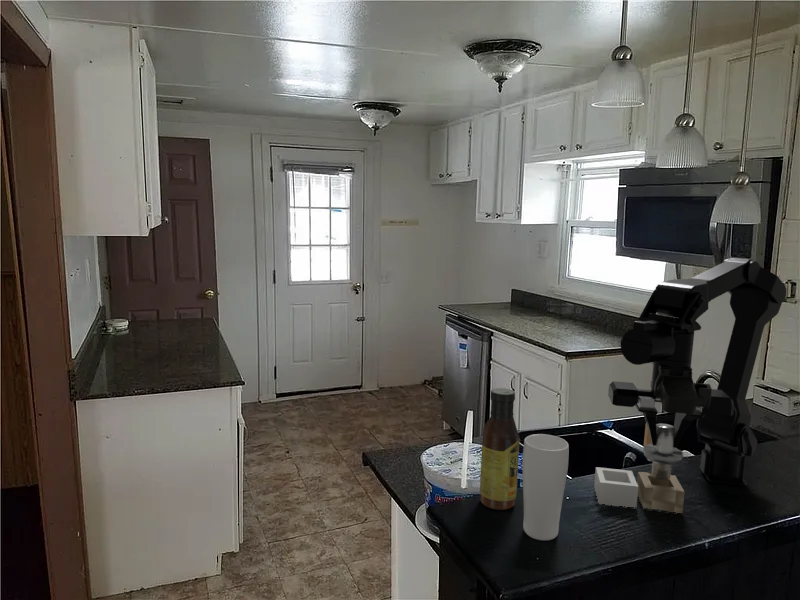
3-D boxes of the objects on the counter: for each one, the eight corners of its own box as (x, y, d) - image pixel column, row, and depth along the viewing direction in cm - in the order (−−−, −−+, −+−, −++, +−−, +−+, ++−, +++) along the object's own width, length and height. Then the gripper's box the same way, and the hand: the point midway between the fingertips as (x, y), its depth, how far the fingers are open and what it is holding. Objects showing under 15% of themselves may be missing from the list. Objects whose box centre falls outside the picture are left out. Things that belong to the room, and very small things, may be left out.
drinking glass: (513, 521, 94) (518, 433, 92) (554, 521, 94) (560, 433, 92) (525, 545, 87) (531, 451, 85) (569, 544, 88) (576, 450, 85)
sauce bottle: (515, 514, 96) (522, 399, 93) (477, 509, 97) (483, 395, 94) (516, 495, 102) (522, 387, 99) (480, 491, 104) (485, 384, 101)
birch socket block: (673, 496, 104) (675, 475, 103) (682, 514, 98) (684, 491, 97) (636, 492, 105) (638, 471, 104) (643, 509, 99) (645, 487, 98)
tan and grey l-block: (656, 452, 109) (659, 424, 108) (662, 462, 105) (665, 433, 104) (643, 450, 110) (645, 423, 109) (648, 460, 105) (650, 432, 104)
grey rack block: (629, 491, 105) (631, 470, 104) (636, 508, 99) (638, 486, 98) (594, 487, 106) (595, 467, 106) (598, 504, 100) (600, 482, 100)
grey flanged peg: (674, 470, 103) (679, 422, 101) (684, 486, 97) (689, 435, 95) (639, 467, 104) (643, 419, 102) (645, 482, 98) (650, 431, 97)
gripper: (621, 365, 91) (613, 458, 94) (752, 374, 87) (740, 472, 90) (611, 349, 102) (604, 433, 104) (727, 357, 98) (717, 444, 101)
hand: (663, 445), depth 100 cm, fingers closed on grey flanged peg, 3 cm apart
